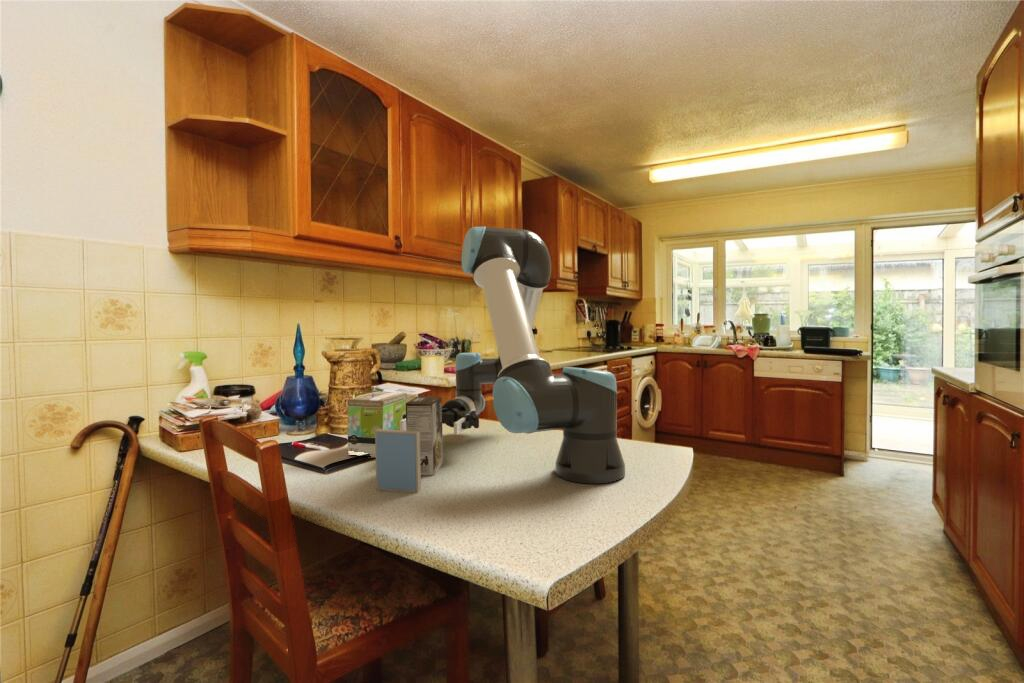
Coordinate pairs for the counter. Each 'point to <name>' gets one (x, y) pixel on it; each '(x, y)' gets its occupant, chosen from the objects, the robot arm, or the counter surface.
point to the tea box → (373, 418)
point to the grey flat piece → (398, 460)
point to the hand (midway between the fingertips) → (427, 427)
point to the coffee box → (427, 431)
